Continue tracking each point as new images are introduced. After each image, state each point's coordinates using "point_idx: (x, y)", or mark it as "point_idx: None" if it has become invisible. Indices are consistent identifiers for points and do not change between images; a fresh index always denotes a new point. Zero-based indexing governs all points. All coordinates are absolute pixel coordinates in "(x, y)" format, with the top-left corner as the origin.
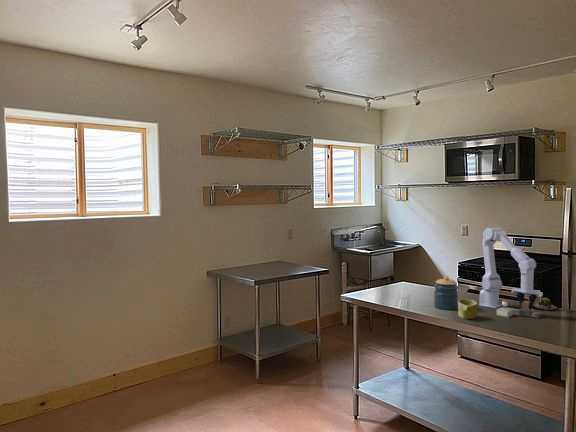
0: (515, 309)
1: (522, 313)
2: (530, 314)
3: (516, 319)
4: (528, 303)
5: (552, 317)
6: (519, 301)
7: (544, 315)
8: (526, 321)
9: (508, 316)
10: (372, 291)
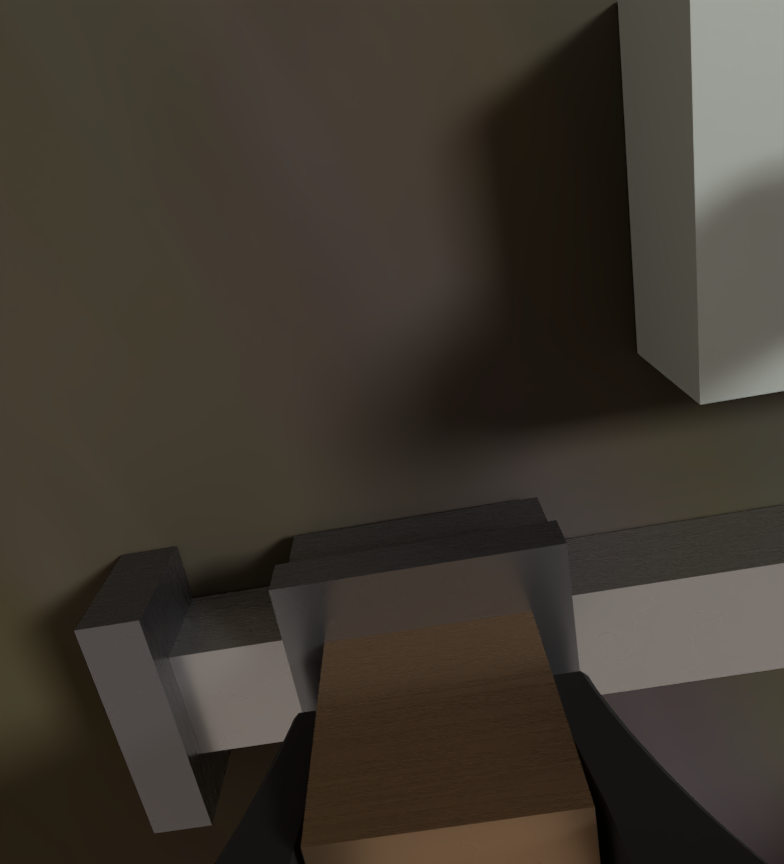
0: (726, 629)
1: (469, 529)
2: None
3: (347, 7)
4: (325, 823)
5: (50, 847)
6: (688, 797)
7: None
8: (61, 55)
9: (625, 21)
10: None
